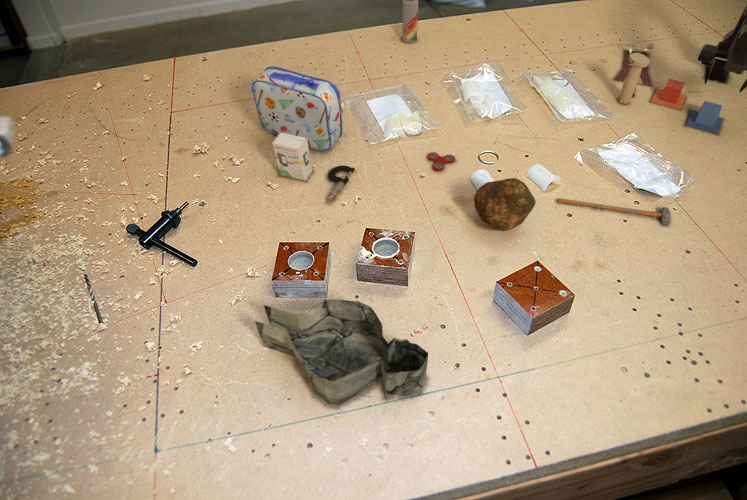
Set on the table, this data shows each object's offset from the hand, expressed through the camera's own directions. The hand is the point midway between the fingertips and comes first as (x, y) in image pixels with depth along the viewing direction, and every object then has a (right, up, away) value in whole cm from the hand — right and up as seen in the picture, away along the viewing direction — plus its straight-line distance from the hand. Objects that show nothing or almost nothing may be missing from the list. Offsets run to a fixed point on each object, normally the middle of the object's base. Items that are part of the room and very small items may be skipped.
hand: (722, 87), depth 152 cm
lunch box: (-123, -13, +9) cm, 124 cm away
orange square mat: (-6, +2, +18) cm, 19 cm away
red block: (-6, +2, +18) cm, 19 cm away
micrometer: (-112, -29, -5) cm, 116 cm away
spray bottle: (-88, +34, +50) cm, 106 cm away
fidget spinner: (-81, -22, 0) cm, 84 cm away
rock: (-69, -41, -17) cm, 82 cm away
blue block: (0, -8, +9) cm, 12 cm away
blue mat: (0, -8, +9) cm, 12 cm away
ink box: (-124, -25, -1) cm, 126 cm away
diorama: (-10, +15, +30) cm, 36 cm away
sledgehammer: (-39, -37, -15) cm, 56 cm away
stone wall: (-108, -71, -43) cm, 136 cm away
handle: (-20, +1, +18) cm, 27 cm away
